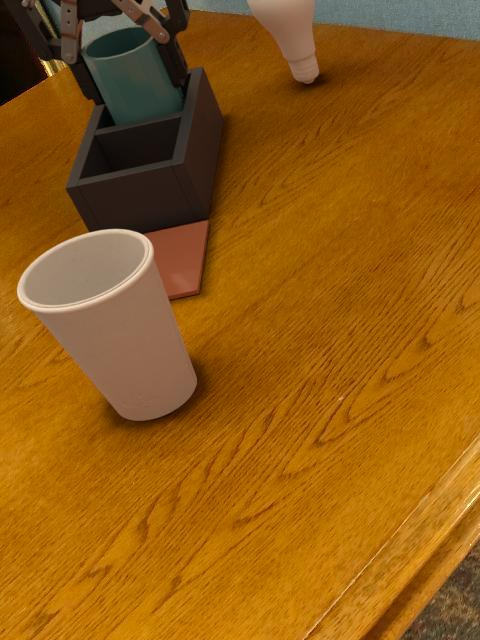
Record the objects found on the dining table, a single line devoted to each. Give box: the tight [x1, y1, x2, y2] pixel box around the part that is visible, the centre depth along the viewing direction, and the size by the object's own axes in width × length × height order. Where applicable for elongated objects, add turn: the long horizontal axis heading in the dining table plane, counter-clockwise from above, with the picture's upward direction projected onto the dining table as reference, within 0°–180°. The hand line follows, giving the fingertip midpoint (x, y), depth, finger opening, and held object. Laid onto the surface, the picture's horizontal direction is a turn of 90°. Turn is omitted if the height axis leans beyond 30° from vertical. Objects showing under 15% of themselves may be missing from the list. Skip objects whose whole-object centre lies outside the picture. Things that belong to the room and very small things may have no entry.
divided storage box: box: [64, 65, 225, 234], centre depth 87 cm, size 10×18×5 cm, turn 8°
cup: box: [81, 24, 185, 126], centre depth 88 cm, size 6×6×10 cm
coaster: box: [141, 219, 211, 301], centre depth 78 cm, size 10×10×1 cm
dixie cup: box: [16, 229, 198, 422], centre depth 64 cm, size 8×8×10 cm
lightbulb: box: [246, 0, 320, 85], centre depth 93 cm, size 6×6×11 cm
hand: (140, 92), depth 87 cm, fingers closed on cup, 6 cm apart
